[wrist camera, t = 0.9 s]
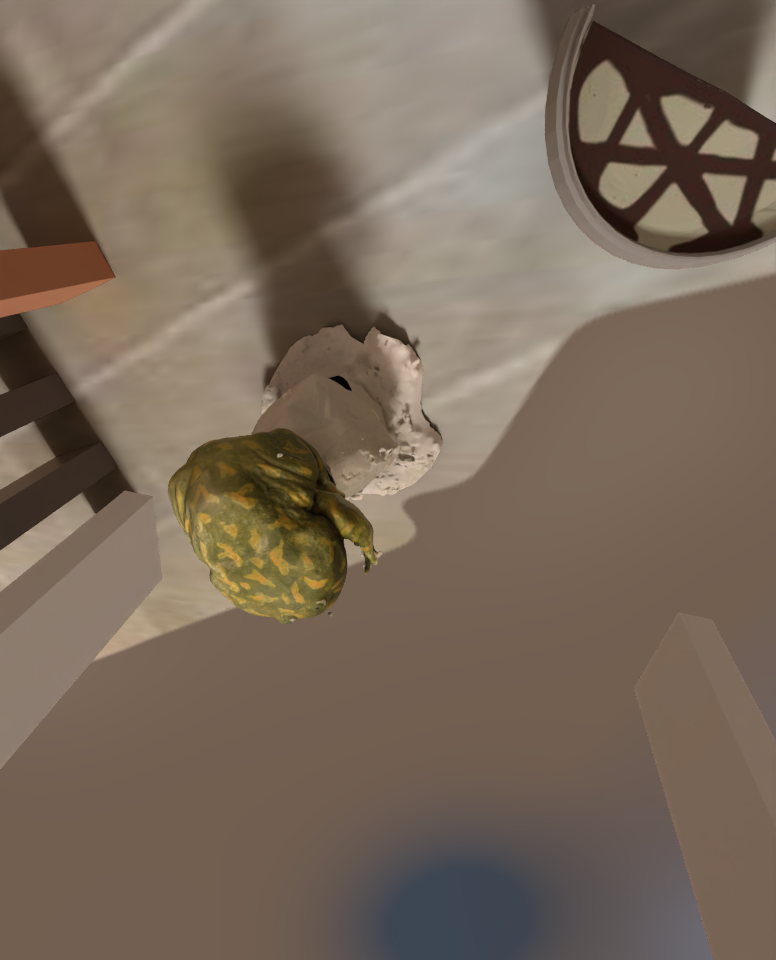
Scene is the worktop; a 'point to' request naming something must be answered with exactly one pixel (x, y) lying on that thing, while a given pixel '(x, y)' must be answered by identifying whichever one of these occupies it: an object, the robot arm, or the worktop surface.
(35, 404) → the domino
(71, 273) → the domino
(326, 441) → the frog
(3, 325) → the domino
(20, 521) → the domino
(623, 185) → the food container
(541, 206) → the worktop surface
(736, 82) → the worktop surface
